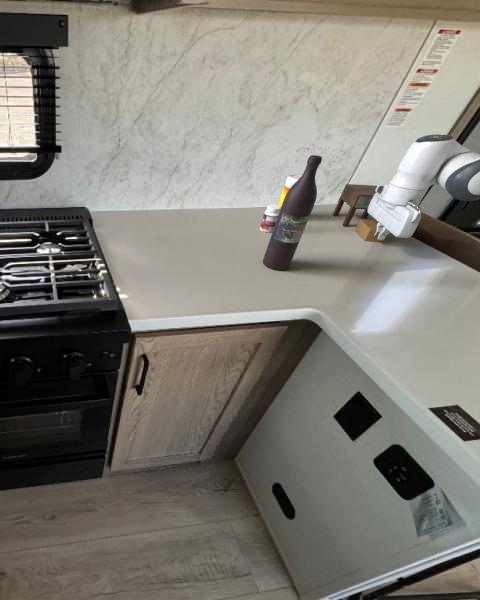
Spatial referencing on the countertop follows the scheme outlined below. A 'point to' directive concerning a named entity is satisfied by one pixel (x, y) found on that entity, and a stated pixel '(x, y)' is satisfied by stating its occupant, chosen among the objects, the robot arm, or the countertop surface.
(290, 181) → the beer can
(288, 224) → the wine bottle
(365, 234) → the storage box
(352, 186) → the drawer table
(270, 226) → the pill bottle
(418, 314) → the countertop surface
